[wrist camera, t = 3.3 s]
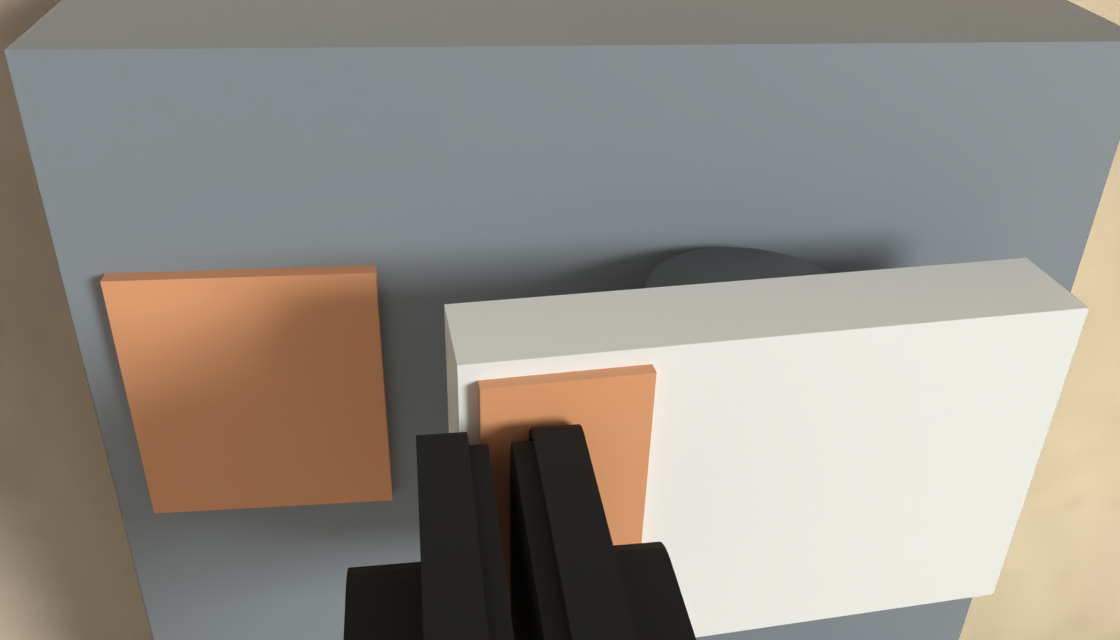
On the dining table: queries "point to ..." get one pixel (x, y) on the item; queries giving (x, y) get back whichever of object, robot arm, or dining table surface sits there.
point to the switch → (786, 421)
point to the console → (486, 225)
